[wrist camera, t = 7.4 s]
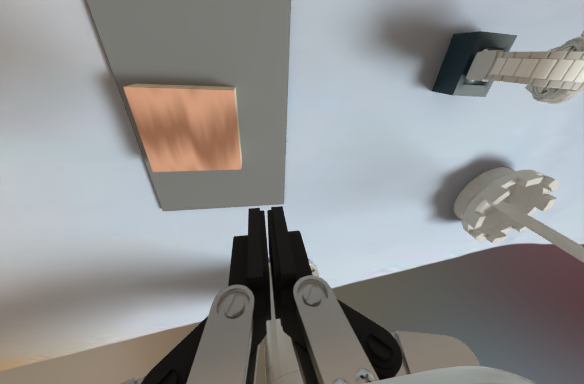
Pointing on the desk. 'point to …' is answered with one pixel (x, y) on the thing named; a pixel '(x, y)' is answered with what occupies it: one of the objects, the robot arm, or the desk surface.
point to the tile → (187, 126)
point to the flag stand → (510, 206)
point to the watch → (511, 67)
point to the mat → (209, 84)
